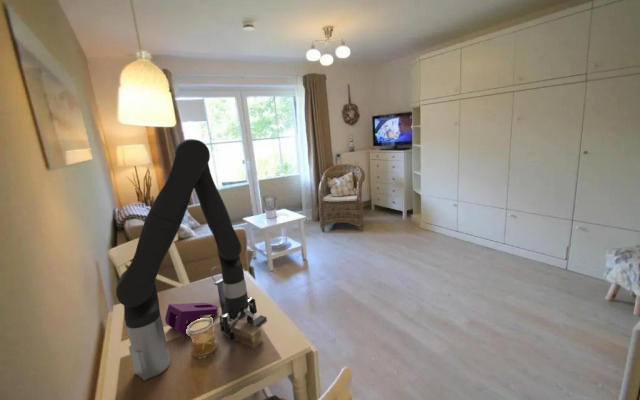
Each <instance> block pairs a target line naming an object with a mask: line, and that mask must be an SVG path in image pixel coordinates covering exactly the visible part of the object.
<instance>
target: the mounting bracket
mask: <svg viewBox="0 0 640 400" xmlns="http://www.w3.org/2000/svg"><path fill="white" fill-rule="evenodd" d="M218 310H219V306H218V305H216V304H213V303H207V302H191V303H171V304H170V303H169V304H168V307H167V310H166V312H165V313H166V315H165V317H164V318H165V319H164V320H165V324H166V326H169V327H170V328H172V329H175V330H176V332H178V333H180V334H181V335H187V334H186V329H187V326H188V325H189V324H190V323H191V322H193V321H195V320H197V319H199V320H200V317H202V316H213V315H214V316H215V315H216V314H218Z"/></svg>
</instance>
